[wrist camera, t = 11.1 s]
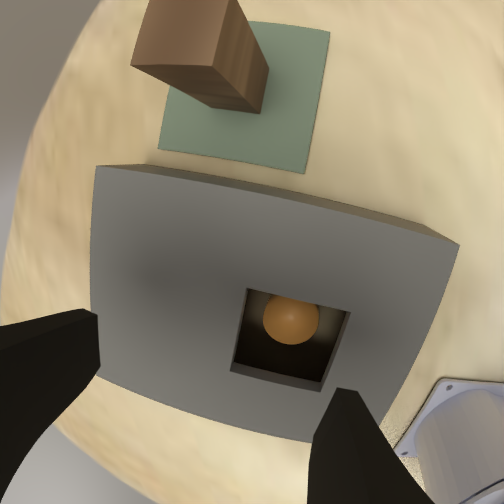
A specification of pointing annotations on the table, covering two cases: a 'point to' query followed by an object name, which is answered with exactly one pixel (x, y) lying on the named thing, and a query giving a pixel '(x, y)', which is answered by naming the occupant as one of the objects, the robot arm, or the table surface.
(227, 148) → the mat
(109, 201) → the panel
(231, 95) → the wooden peg
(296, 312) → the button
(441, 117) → the table surface
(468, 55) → the table surface
